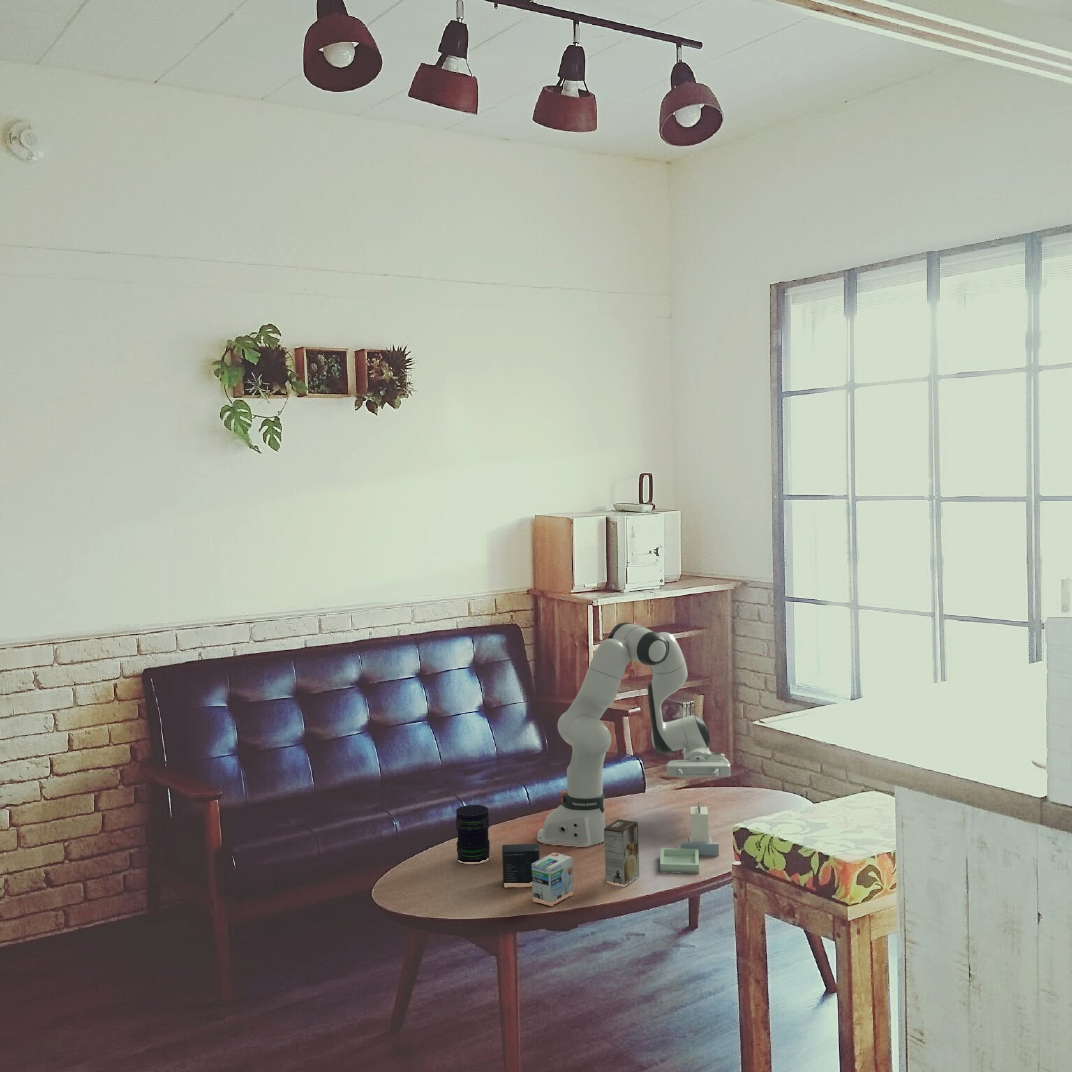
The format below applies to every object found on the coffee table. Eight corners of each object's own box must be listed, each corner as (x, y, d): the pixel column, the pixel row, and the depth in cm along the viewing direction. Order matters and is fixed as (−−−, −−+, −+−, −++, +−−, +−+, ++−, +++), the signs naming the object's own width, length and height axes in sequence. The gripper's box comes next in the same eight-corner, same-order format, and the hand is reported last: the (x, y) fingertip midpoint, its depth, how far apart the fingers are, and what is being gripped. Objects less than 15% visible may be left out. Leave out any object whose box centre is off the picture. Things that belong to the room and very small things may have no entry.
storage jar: (455, 865, 331) (453, 815, 329) (458, 853, 340) (457, 805, 339) (489, 864, 330) (487, 815, 329) (491, 852, 340) (490, 804, 339)
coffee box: (619, 873, 321) (618, 818, 320) (639, 877, 318) (638, 821, 317) (604, 884, 314) (603, 827, 312) (625, 888, 310) (624, 831, 309)
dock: (681, 854, 334) (681, 843, 334) (681, 844, 343) (681, 833, 343) (718, 855, 333) (718, 844, 333) (717, 845, 341) (717, 834, 341)
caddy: (691, 853, 336) (690, 808, 335) (691, 845, 342) (690, 800, 341) (708, 853, 335) (707, 808, 334) (707, 845, 342) (707, 801, 341)
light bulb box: (551, 908, 298) (550, 868, 297) (531, 902, 302) (530, 863, 301) (574, 894, 306) (573, 856, 306) (554, 889, 311) (553, 851, 310)
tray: (660, 872, 321) (660, 864, 321) (660, 856, 334) (660, 848, 334) (699, 873, 320) (699, 864, 319) (698, 857, 332) (698, 848, 332)
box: (540, 878, 319) (539, 842, 318) (540, 887, 312) (540, 851, 311) (503, 879, 319) (502, 843, 318) (502, 888, 312) (501, 852, 311)
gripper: (665, 753, 365) (664, 766, 351) (729, 753, 362) (731, 765, 349) (665, 772, 365) (665, 785, 352) (729, 772, 363) (731, 785, 349)
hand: (698, 775), depth 350 cm, fingers open, 8 cm apart
